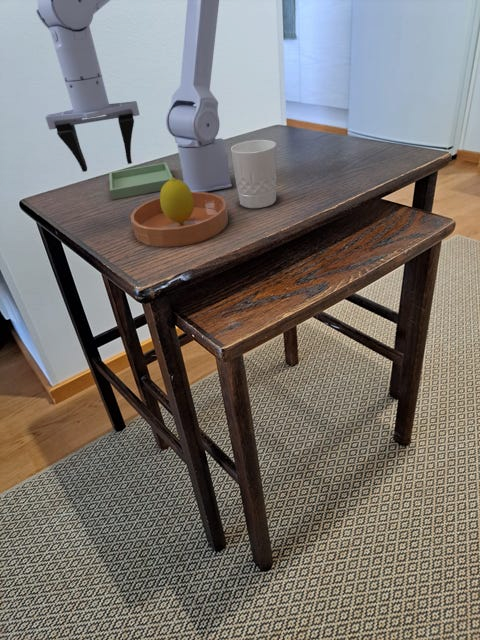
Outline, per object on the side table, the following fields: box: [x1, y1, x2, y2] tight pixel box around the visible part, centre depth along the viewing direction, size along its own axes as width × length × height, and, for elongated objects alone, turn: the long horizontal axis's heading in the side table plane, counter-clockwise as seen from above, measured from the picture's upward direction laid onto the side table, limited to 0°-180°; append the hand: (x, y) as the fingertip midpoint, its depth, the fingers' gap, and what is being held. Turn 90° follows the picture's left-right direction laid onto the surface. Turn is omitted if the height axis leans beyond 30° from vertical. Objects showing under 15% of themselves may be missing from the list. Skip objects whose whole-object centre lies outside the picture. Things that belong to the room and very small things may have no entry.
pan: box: [130, 192, 229, 248], centre depth 77 cm, size 16×16×3 cm
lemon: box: [159, 177, 194, 224], centre depth 75 cm, size 6×6×8 cm
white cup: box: [230, 139, 278, 209], centre depth 80 cm, size 8×8×10 cm
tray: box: [108, 162, 174, 200], centre depth 98 cm, size 13×13×2 cm
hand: (107, 166), depth 78 cm, fingers open, 7 cm apart
